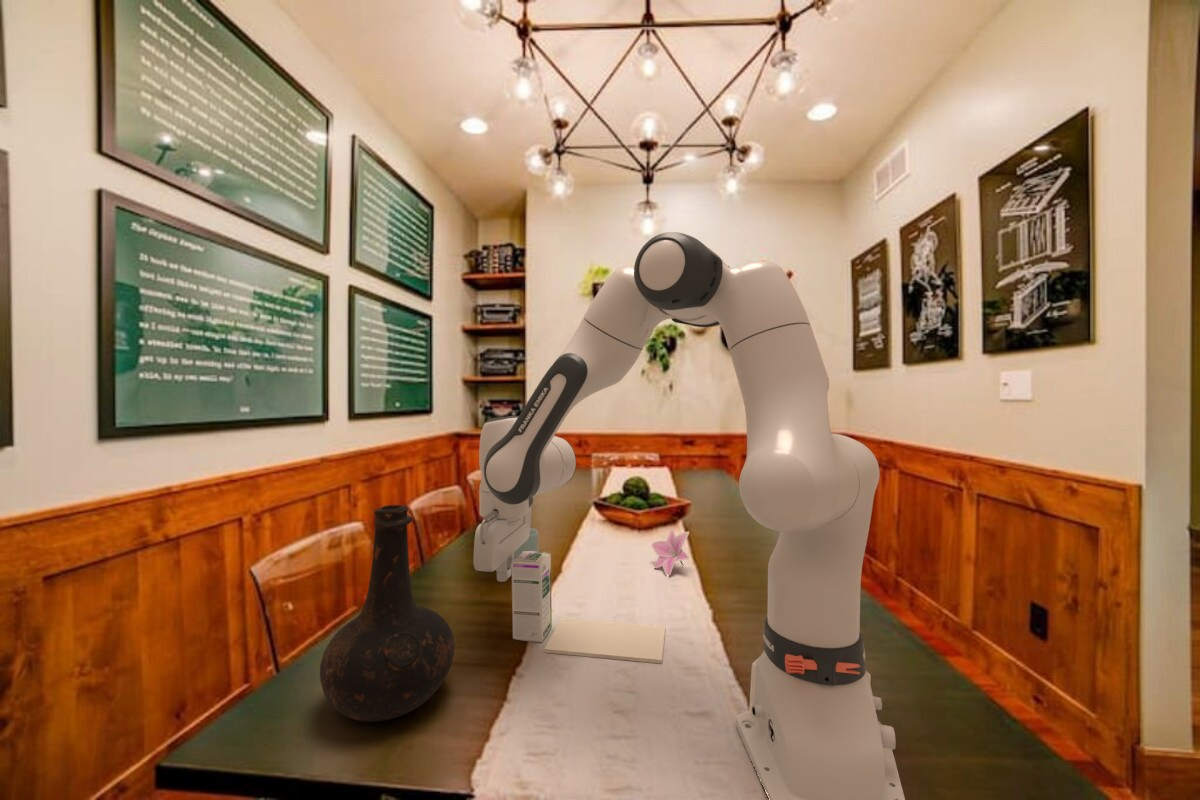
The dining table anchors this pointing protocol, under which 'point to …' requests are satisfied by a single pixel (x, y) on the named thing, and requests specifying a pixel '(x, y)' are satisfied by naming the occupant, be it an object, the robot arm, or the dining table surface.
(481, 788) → the dining table surface
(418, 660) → the glass bottle
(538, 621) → the syrup box
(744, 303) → the robot arm
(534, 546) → the cup
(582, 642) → the mat
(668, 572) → the lily
